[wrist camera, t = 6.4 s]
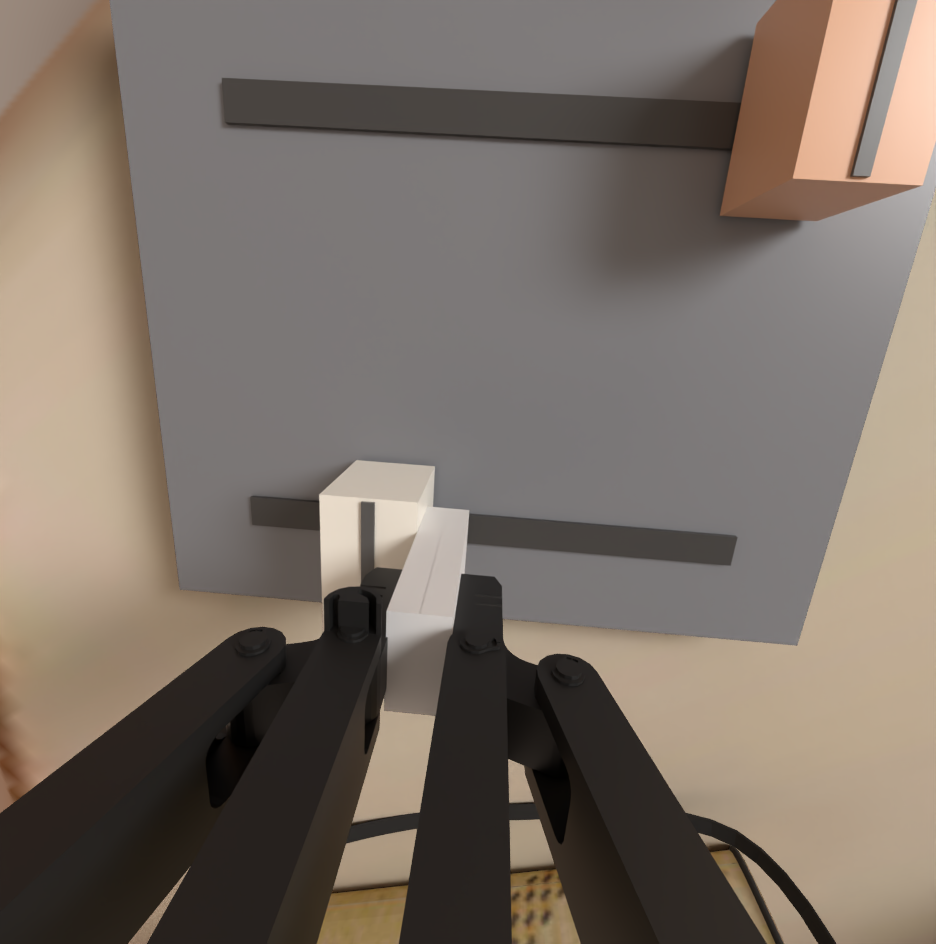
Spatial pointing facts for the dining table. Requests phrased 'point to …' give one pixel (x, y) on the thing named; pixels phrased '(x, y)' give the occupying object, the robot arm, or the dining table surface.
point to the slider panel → (498, 299)
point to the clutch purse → (552, 893)
